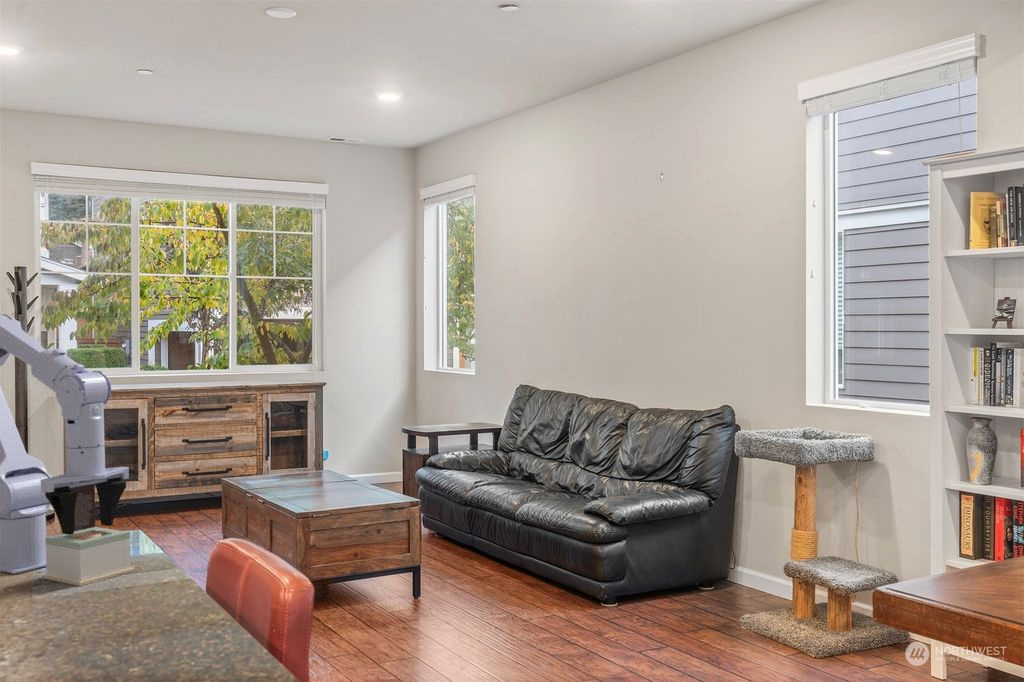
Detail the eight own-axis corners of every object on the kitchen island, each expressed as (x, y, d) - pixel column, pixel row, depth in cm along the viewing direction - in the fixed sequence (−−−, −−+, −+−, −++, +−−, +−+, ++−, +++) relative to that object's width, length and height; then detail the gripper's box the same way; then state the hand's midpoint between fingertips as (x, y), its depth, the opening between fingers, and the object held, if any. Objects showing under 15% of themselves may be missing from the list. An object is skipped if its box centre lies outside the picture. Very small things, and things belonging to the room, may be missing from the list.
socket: (41, 578, 151) (40, 538, 151) (97, 564, 160) (96, 526, 160) (79, 586, 146) (78, 544, 146) (135, 571, 155) (134, 531, 155)
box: (97, 542, 176) (95, 478, 176) (71, 546, 173) (69, 481, 173) (88, 537, 181) (86, 475, 181) (63, 541, 178) (61, 478, 178)
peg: (70, 573, 152) (69, 536, 152) (92, 567, 156) (91, 531, 156) (85, 576, 150) (84, 538, 150) (107, 570, 154) (106, 533, 154)
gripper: (58, 453, 144) (61, 541, 145) (139, 442, 157) (141, 523, 157) (31, 450, 148) (34, 536, 148) (112, 440, 160) (115, 519, 161)
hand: (87, 529), depth 153 cm, fingers open, 6 cm apart
